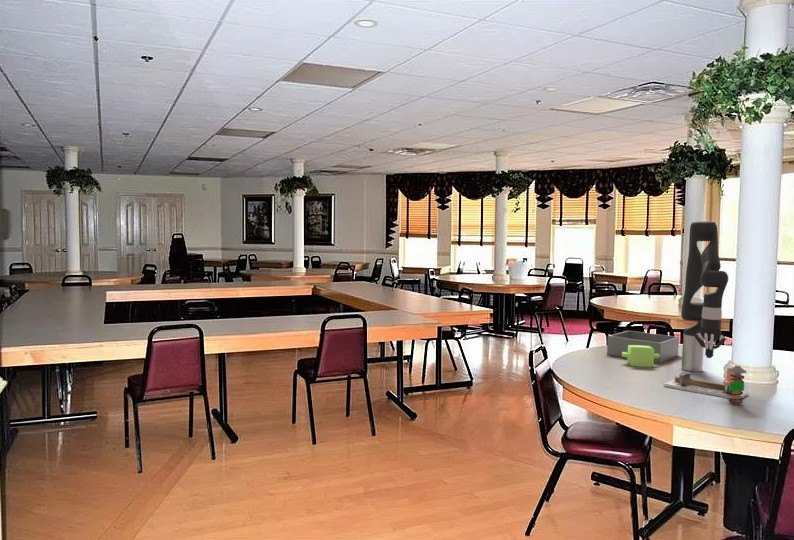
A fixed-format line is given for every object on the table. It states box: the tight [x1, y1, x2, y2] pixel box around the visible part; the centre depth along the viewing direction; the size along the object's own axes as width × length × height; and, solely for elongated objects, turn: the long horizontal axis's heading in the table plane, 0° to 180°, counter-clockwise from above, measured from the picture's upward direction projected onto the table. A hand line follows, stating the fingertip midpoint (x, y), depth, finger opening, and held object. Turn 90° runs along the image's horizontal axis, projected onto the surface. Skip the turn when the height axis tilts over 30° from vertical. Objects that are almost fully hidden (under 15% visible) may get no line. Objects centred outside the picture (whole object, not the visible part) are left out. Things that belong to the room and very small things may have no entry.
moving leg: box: [723, 366, 734, 392], centre depth 264 cm, size 8×3×9 cm, turn 138°
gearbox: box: [622, 345, 660, 368], centre depth 319 cm, size 18×10×10 cm, turn 84°
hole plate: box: [663, 378, 749, 399], centre depth 270 cm, size 12×30×1 cm, turn 48°
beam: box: [674, 371, 741, 393], centre depth 270 cm, size 8×26×4 cm, turn 48°
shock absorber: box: [728, 365, 748, 406], centre depth 250 cm, size 6×6×15 cm
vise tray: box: [606, 330, 680, 364], centre depth 344 cm, size 28×28×10 cm
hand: (709, 357), depth 271 cm, fingers closed
